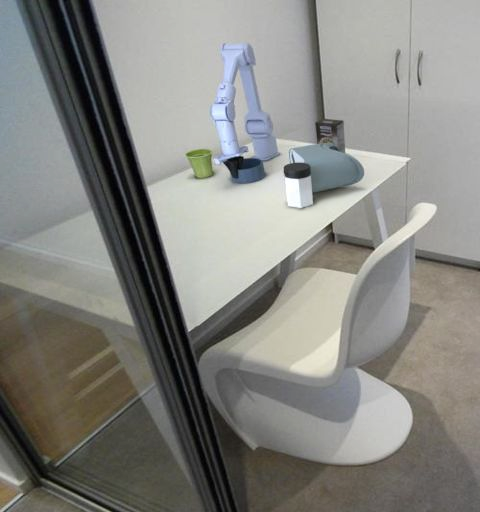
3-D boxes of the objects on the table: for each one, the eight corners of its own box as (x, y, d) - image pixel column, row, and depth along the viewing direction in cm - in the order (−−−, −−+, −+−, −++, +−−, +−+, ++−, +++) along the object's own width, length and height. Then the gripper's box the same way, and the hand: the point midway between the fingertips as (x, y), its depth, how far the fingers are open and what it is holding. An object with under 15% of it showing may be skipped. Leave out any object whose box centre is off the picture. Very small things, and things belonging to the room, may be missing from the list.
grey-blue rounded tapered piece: (292, 179, 157) (286, 144, 150) (340, 169, 164) (337, 135, 158) (313, 200, 140) (308, 162, 134) (366, 188, 148) (364, 151, 141)
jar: (281, 205, 137) (277, 169, 131) (294, 196, 143) (290, 160, 137) (307, 209, 134) (303, 172, 128) (318, 199, 141) (316, 164, 135)
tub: (247, 168, 167) (244, 156, 164) (271, 173, 162) (269, 160, 159) (224, 180, 158) (221, 167, 155) (250, 185, 153) (247, 171, 150)
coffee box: (318, 163, 170) (314, 122, 161) (326, 158, 175) (322, 118, 166) (339, 166, 167) (335, 124, 158) (346, 161, 172) (343, 119, 163)
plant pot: (221, 170, 166) (216, 148, 162) (211, 180, 158) (205, 157, 154) (198, 170, 167) (192, 148, 163) (186, 179, 159) (180, 157, 155)
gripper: (222, 147, 140) (231, 186, 148) (252, 135, 151) (259, 172, 159) (206, 144, 143) (215, 183, 150) (236, 133, 154) (244, 169, 161)
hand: (236, 177), depth 155 cm, fingers closed on tub
